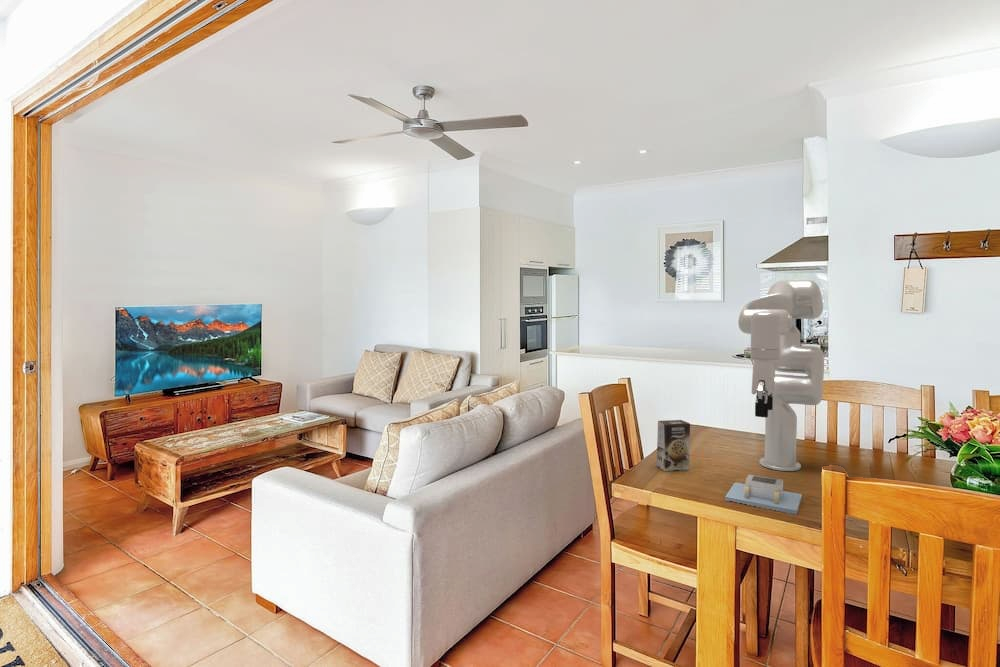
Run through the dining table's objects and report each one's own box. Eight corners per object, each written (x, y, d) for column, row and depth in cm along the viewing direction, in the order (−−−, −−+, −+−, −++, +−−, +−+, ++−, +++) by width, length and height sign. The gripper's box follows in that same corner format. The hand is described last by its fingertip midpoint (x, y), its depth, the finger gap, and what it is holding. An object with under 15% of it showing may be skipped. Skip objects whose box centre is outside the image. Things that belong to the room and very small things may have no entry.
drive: (748, 489, 156) (748, 474, 156) (782, 495, 151) (782, 479, 151) (745, 495, 151) (745, 479, 151) (780, 501, 146) (780, 485, 146)
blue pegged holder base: (734, 486, 162) (735, 472, 162) (801, 498, 152) (802, 483, 151) (725, 500, 150) (725, 486, 150) (796, 514, 140) (797, 499, 140)
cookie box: (665, 472, 176) (665, 424, 175) (656, 465, 182) (656, 420, 181) (690, 470, 177) (690, 423, 176) (680, 464, 184) (681, 418, 182)
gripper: (755, 350, 159) (754, 405, 161) (745, 357, 145) (744, 418, 147) (783, 351, 155) (782, 408, 157) (775, 359, 141) (774, 421, 142)
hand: (763, 413), depth 152 cm, fingers open, 9 cm apart
